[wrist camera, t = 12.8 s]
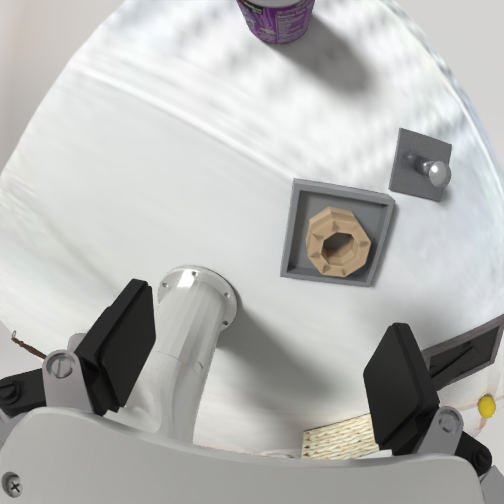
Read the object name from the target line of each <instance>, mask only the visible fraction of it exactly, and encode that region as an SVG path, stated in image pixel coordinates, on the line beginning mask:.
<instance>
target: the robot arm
mask: <svg viewBox="0 0 504 504" xmlns="http://www.w3.org/2000/svg"><path fill="white" fill-rule="evenodd" d="M157 295H158V302H159V306H158V307H157V309H156V311H155V312H154V309H153V296H152V287H151V286H148V283H147V282H146V281H143V280H138V279H132V280H131V281H130V282H129V283H128V285H127V286H126V287H125V288H124V290H123V291H122V292H121V293H120V295H119V296H118V297H117V299H116V300H115V301H114V302H113V304H112V305H111V306H109V307H107V308H106V309H105V310H104V312H103V313H102V314H101V315H100V317H99V318H98V319H97V321H96V322H95V323H94V325H93V326H92V327H91V329H90V330H89V331H88V333H87V334H86V336H85V337H84V338H83V340H82V341H81V342H80V344H79V345H78V347H77V348H76V349H75V351H74V352H71V351H69V350H57V351H54V352H52V353H50V354H49V355H48V356H47V357H46V358H45V359H44V362H43V365H42V368H40V369H37V370H33V371H29V372H25V373H21V374H17V375H13V376H9V377H5V378H3V379H1V380H0V504H504V477H503V475H502V474H501V473H500V471H499V470H498V469H497V467H496V466H495V465H493V466H491V464H492V456H491V453H490V451H489V449H488V448H487V447H485V446H484V445H483V444H481V443H480V442H478V441H477V440H476V439H474V438H473V437H471V436H470V435H468V434H467V433H465V432H464V431H463V426H464V423H463V419H462V416H461V415H460V413H459V412H458V411H457V410H456V409H454V408H452V407H450V406H444V407H441V408H439V405H438V404H439V403H440V400H439V398H438V395H437V392H436V389H435V387H434V384H433V381H432V379H431V376H430V374H429V371H428V369H427V366H426V364H425V361H424V359H423V356H422V354H421V352H420V349H419V347H418V345H417V342H416V340H415V338H414V335H413V333H412V331H411V329H410V327H409V325H408V324H406V323H394V324H393V325H392V326H389V327H388V329H387V331H386V332H385V334H384V336H383V338H382V340H381V342H380V343H379V345H378V347H377V349H376V351H375V352H374V354H373V356H372V357H371V359H370V361H369V362H368V364H367V366H366V367H365V369H364V373H363V378H364V383H365V388H366V393H367V398H368V404H369V409H370V415H371V420H372V426H373V433H374V439H375V443H376V444H378V446H379V451H381V450H391V451H392V455H391V456H390V457H381V458H367V459H345V460H315V459H292V458H278V457H268V456H259V455H251V454H243V453H237V452H231V451H225V450H219V449H214V448H209V447H204V446H199V445H195V444H193V434H194V427H195V422H196V417H197V413H198V409H199V405H200V401H201V398H202V394H203V391H204V387H205V383H206V380H207V376H208V373H209V369H210V366H211V362H212V359H213V355H214V352H215V348H216V345H217V341H218V338H219V334H220V331H222V330H224V329H226V328H227V327H228V326H229V325H230V324H231V323H232V322H233V320H234V318H235V315H236V312H237V300H236V296H235V294H234V291H233V290H232V288H231V287H230V285H229V284H228V283H227V282H226V281H225V280H224V279H223V278H222V277H220V276H219V275H218V274H216V273H214V272H212V271H211V270H208V269H205V268H202V267H197V266H183V267H178V268H176V269H173V270H171V271H170V272H168V273H167V274H166V275H165V276H164V278H163V279H162V281H161V282H160V284H159V287H158V293H157ZM125 405H126V407H127V408H126V407H124V406H125Z"/></svg>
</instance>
